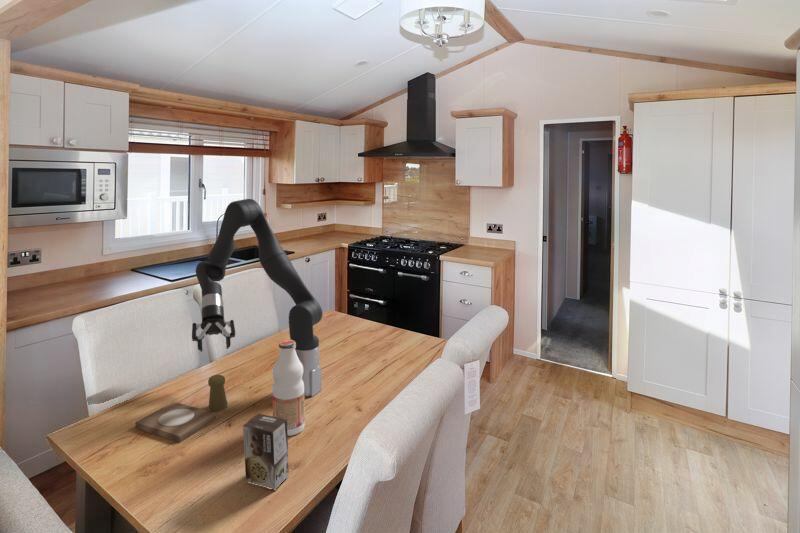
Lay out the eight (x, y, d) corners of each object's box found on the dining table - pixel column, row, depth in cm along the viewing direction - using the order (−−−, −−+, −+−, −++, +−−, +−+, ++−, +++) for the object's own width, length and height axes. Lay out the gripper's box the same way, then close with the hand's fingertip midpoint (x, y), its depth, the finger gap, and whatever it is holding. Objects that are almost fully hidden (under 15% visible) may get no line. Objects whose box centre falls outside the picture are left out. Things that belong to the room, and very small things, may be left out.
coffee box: (289, 476, 116) (288, 419, 113) (275, 491, 110) (273, 432, 107) (260, 467, 119) (258, 412, 116) (244, 482, 113) (241, 424, 110)
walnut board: (216, 419, 142) (216, 412, 142) (180, 442, 129) (179, 435, 129) (174, 407, 148) (173, 400, 148) (135, 428, 136) (135, 421, 135)
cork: (231, 403, 152) (229, 373, 150) (222, 412, 146) (220, 381, 144) (214, 402, 153) (212, 371, 150) (204, 411, 147) (202, 379, 144)
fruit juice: (284, 440, 131) (282, 350, 126) (267, 428, 138) (264, 342, 132) (311, 428, 138) (310, 342, 133) (293, 417, 144) (292, 334, 139)
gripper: (190, 305, 159) (191, 347, 151) (233, 302, 165) (236, 342, 157) (191, 315, 165) (192, 356, 157) (233, 312, 170) (236, 351, 162)
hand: (214, 349), depth 157 cm, fingers open, 8 cm apart
